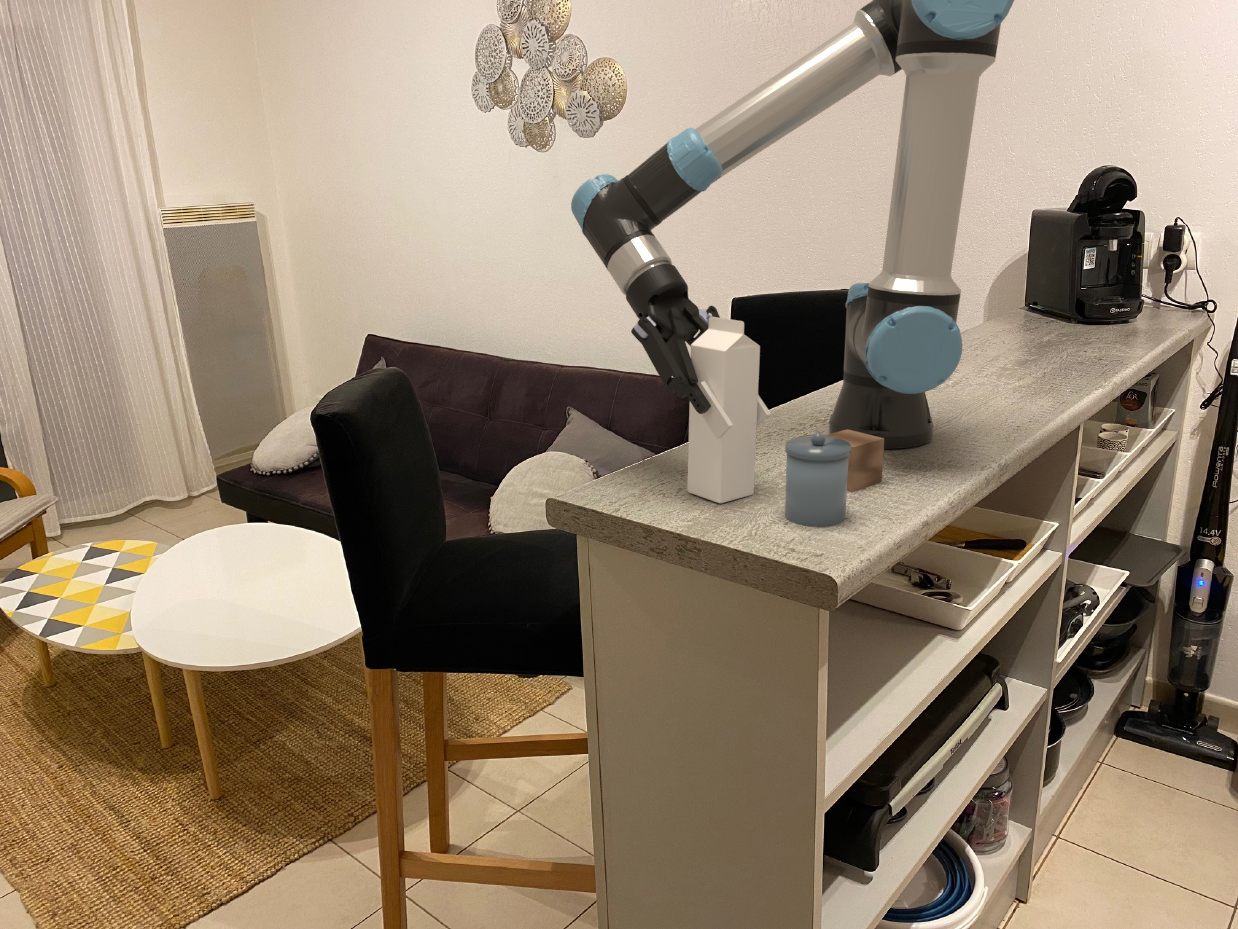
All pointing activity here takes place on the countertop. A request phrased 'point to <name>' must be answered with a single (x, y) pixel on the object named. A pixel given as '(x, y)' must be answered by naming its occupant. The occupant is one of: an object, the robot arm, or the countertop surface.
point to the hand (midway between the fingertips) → (744, 425)
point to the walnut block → (862, 459)
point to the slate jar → (816, 480)
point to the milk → (734, 383)
